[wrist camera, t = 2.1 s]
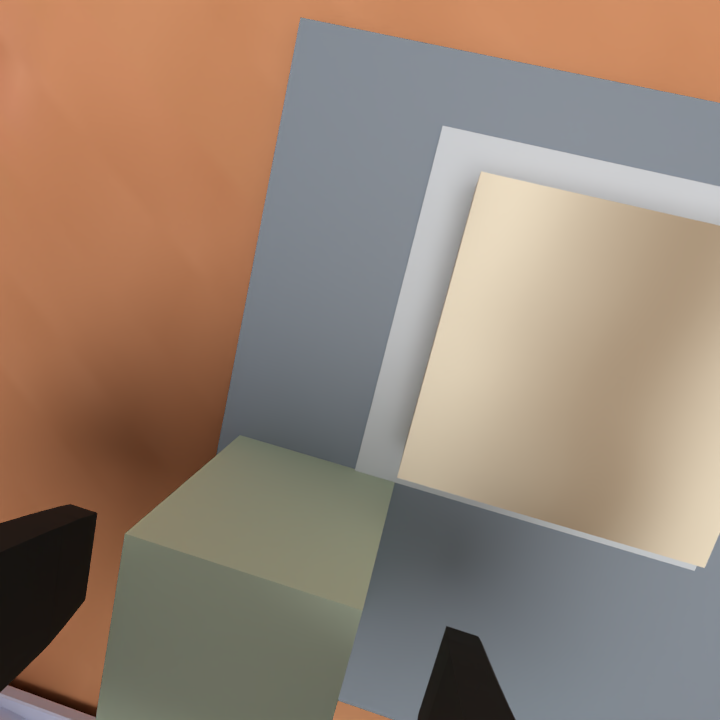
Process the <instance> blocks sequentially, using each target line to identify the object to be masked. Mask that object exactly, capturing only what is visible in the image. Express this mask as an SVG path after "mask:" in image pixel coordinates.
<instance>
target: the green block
mask: <svg viewBox="0 0 720 720" xmlns="http://www.w3.org/2000/svg"><path fill="white" fill-rule="evenodd" d="M394 484H395V482H392V481H388V480H385V479H381V478H378V477H375V476H371V475H368V474H365V473H361V472H358V471H355V469H353V468H350V467H346V466H343V465H340V464H336V463H333V462H330V461H326V460H323V459H319V458H316V457H313V456H309V455H306V454H302V453H299V452H296V451H292V450H289V449H285V448H282V447H279V446H275V445H272V444H269V443H265V442H262V441H258V440H255V439H252V438H248V437H245V436H241V435H239V436H238V437H237V438H236V439H235V440H234V441H232V442H231V443H230V444H229V445H228V446H227V447H225V448H224V449H223V450H222V451H221V452H220V453H218V454H217V455H216V456H215V457H214V458H213V459H211V460H210V461H209V462H208V463H207V464H206V465H204V466H203V467H202V468H201V469H200V470H199V471H197V472H196V473H195V474H194V475H193V476H192V477H190V478H189V479H188V480H187V481H186V482H185V483H183V484H182V485H181V486H180V487H179V488H178V489H176V490H175V491H174V492H173V493H172V494H171V495H169V496H168V497H167V498H166V499H165V500H164V501H162V502H161V503H160V504H159V505H158V506H157V507H155V508H154V509H153V510H152V511H151V512H150V513H148V514H147V515H146V516H145V517H144V518H143V519H141V520H140V521H139V522H138V523H137V524H136V525H134V526H133V527H132V528H131V529H130V530H128V531H127V532H126V533H125V536H124V543H123V549H122V555H121V562H120V568H119V574H118V581H117V587H116V593H115V599H114V606H113V612H112V618H111V625H110V631H109V637H108V644H107V650H106V656H105V663H104V669H103V675H102V682H101V688H100V694H99V701H98V707H97V713H96V720H333V716H334V712H335V709H336V705H337V701H338V698H339V694H340V691H341V687H342V683H343V680H344V676H345V673H346V669H347V665H348V662H349V658H350V654H351V651H352V647H353V644H354V640H355V636H356V633H357V629H358V625H359V622H360V618H361V615H362V611H363V607H364V603H365V599H366V595H367V591H368V587H369V583H370V579H371V575H372V571H373V567H374V563H375V559H376V555H377V551H378V547H379V543H380V539H381V535H382V531H383V527H384V523H385V519H386V515H387V511H388V507H389V503H390V499H391V495H392V492H393V488H394Z"/></svg>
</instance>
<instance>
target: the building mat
mask: <svg viewBox="0 0 720 720" xmlns="http://www.w3.org/2000/svg"><path fill="white" fill-rule="evenodd" d="M481 171H482V172H486V173H490V174H495V175H499V176H504V177H508V178H512V179H517V180H521V181H526V182H530V183H534V184H539V185H543V186H548V187H552V188H556V189H561V190H565V191H570V192H574V193H578V194H583V195H587V196H592V197H596V198H600V199H605V200H609V201H614V202H618V203H622V204H627V205H631V206H636V207H640V208H644V209H649V210H653V211H658V212H662V213H666V214H671V215H675V216H680V217H684V218H688V219H693V220H697V221H702V222H706V223H710V224H715V225H719V226H720V103H717V102H712V101H707V100H703V99H698V98H693V97H688V96H683V95H678V94H673V93H668V92H663V91H658V90H653V89H649V88H644V87H639V86H634V85H629V84H624V83H619V82H614V81H609V80H604V79H600V78H595V77H590V76H585V75H580V74H575V73H570V72H565V71H560V70H555V69H550V68H546V67H541V66H536V65H531V64H526V63H521V62H516V61H511V60H506V59H501V58H496V57H492V56H487V55H482V54H477V53H472V52H467V51H462V50H457V49H452V48H447V47H443V46H438V45H433V44H428V43H423V42H418V41H413V40H408V39H403V38H398V37H393V36H389V35H384V34H379V33H374V32H369V31H364V30H359V29H354V28H349V27H344V26H340V25H335V24H330V23H325V22H320V21H315V20H310V19H305V18H300V23H299V28H298V33H297V39H296V44H295V49H294V54H293V59H292V65H291V70H290V75H289V80H288V85H287V91H286V96H285V101H284V106H283V111H282V117H281V122H280V127H279V132H278V137H277V143H276V148H275V153H274V158H273V163H272V169H271V174H270V179H269V184H268V189H267V195H266V200H265V205H264V210H263V215H262V220H261V226H260V231H259V236H258V241H257V246H256V252H255V257H254V262H253V267H252V272H251V278H250V283H249V288H248V293H247V298H246V304H245V309H244V314H243V319H242V324H241V330H240V335H239V340H238V345H237V350H236V356H235V361H234V366H233V371H232V376H231V382H230V387H229V392H228V397H227V402H226V408H225V413H224V418H223V423H222V428H221V433H220V439H219V444H218V449H217V454H218V453H220V452H221V451H222V450H223V449H224V448H225V447H227V446H228V445H229V444H230V443H231V442H232V441H234V440H235V439H236V438H237V437H238V436H239V435H241V436H245V437H248V438H252V439H255V440H258V441H262V442H265V443H269V444H272V445H275V446H279V447H282V448H285V449H289V450H292V451H296V452H299V453H302V454H306V455H309V456H313V457H316V458H319V459H323V460H326V461H330V462H333V463H336V464H340V465H343V466H346V467H350V468H353V469H355V471H358V472H361V473H365V474H368V475H371V476H375V477H378V478H381V479H385V480H388V481H392V482H395V484H394V488H393V492H392V495H391V499H390V503H389V507H388V511H387V515H386V519H385V523H384V527H383V531H382V535H381V539H380V543H379V547H378V551H377V555H376V559H375V563H374V567H373V571H372V575H371V579H370V583H369V587H368V591H367V595H366V599H365V603H364V607H363V611H362V615H361V618H360V622H359V625H358V629H357V633H356V636H355V640H354V644H353V647H352V651H351V654H350V658H349V662H348V665H347V669H346V673H345V676H344V680H343V683H342V687H341V691H340V694H339V698H338V701H341V702H344V703H347V704H350V705H352V706H355V707H358V708H361V709H364V710H367V711H370V712H373V713H376V714H379V715H382V716H384V717H387V718H390V719H393V720H417V719H418V713H419V710H420V707H421V704H422V701H423V698H424V694H425V691H426V688H427V685H428V682H429V679H430V676H431V673H432V669H433V666H434V663H435V660H436V657H437V654H438V651H439V647H440V644H441V641H442V638H443V635H444V632H445V629H446V626H448V627H451V628H454V629H457V630H460V631H464V632H467V633H470V634H473V635H476V636H479V638H480V640H481V642H482V644H483V646H484V649H485V651H486V654H487V656H488V658H489V661H490V663H491V666H492V668H493V670H494V673H495V675H496V677H497V680H498V682H499V684H500V687H501V689H502V691H503V693H504V696H505V698H506V700H507V702H508V705H509V707H510V709H511V711H512V713H513V715H514V717H515V719H516V720H720V534H719V536H718V538H717V541H716V543H715V545H714V548H713V550H712V552H711V555H710V557H709V559H708V562H707V564H706V566H705V568H703V567H699V566H696V565H692V564H689V563H686V562H682V561H679V560H675V559H672V558H669V557H665V556H662V555H658V554H655V553H652V552H648V551H645V550H641V549H638V548H635V547H631V546H628V545H624V544H621V543H618V542H614V541H611V540H607V539H604V538H601V537H597V536H594V535H590V534H587V533H584V532H580V531H577V530H573V529H570V528H567V527H563V526H560V525H556V524H553V523H550V522H546V521H543V520H539V519H536V518H533V517H529V516H526V515H522V514H519V513H516V512H512V511H509V510H505V509H502V508H499V507H495V506H492V505H488V504H485V503H482V502H478V501H475V500H471V499H468V498H465V497H461V496H458V495H454V494H451V493H448V492H444V491H441V490H437V489H434V488H431V487H427V486H424V485H420V484H417V483H414V482H410V481H407V480H403V479H400V478H397V476H398V471H399V467H400V463H401V459H402V455H403V451H404V447H405V443H406V440H407V436H408V432H409V429H410V425H411V421H412V418H413V414H414V410H415V407H416V403H417V399H418V396H419V392H420V389H421V385H422V381H423V378H424V374H425V370H426V367H427V363H428V359H429V356H430V352H431V348H432V345H433V341H434V337H435V334H436V330H437V327H438V323H439V319H440V316H441V312H442V308H443V305H444V301H445V297H446V294H447V290H448V286H449V283H450V279H451V275H452V272H453V268H454V265H455V261H456V257H457V254H458V250H459V246H460V243H461V239H462V235H463V232H464V228H465V224H466V221H467V217H468V213H469V210H470V206H471V203H472V199H473V195H474V192H475V188H476V184H477V182H478V179H479V176H480V173H481ZM217 454H216V455H217Z"/></svg>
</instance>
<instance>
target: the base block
mask: <svg viewBox="0 0 720 720" xmlns="http://www.w3.org/2000/svg"><path fill="white" fill-rule="evenodd" d="M397 478H400V479H403V480H407V481H410V482H414V483H417V484H420V485H424V486H427V487H431V488H434V489H437V490H441V491H444V492H448V493H451V494H454V495H458V496H461V497H465V498H468V499H471V500H475V501H478V502H482V503H485V504H488V505H492V506H495V507H499V508H502V509H505V510H509V511H512V512H516V513H519V514H522V515H526V516H529V517H533V518H536V519H539V520H543V521H546V522H550V523H553V524H556V525H560V526H563V527H567V528H570V529H573V530H577V531H580V532H584V533H587V534H590V535H594V536H597V537H601V538H604V539H607V540H611V541H614V542H618V543H621V544H624V545H628V546H631V547H635V548H638V549H641V550H645V551H648V552H652V553H655V554H658V555H662V556H665V557H669V558H672V559H675V560H679V561H682V562H686V563H689V564H692V565H696V566H699V567H703V568H705V566H706V564H707V562H708V559H709V557H710V555H711V552H712V550H713V548H714V545H715V543H716V541H717V538H718V536H719V534H720V226H719V225H715V224H710V223H706V222H702V221H697V220H693V219H688V218H684V217H680V216H675V215H671V214H666V213H662V212H658V211H653V210H649V209H644V208H640V207H636V206H631V205H627V204H622V203H618V202H614V201H609V200H605V199H600V198H596V197H592V196H587V195H583V194H578V193H574V192H570V191H565V190H561V189H556V188H552V187H548V186H543V185H539V184H534V183H530V182H526V181H521V180H517V179H512V178H508V177H504V176H499V175H495V174H490V173H486V172H482V171H481V173H480V176H479V179H478V182H477V184H476V188H475V192H474V195H473V199H472V203H471V206H470V210H469V213H468V217H467V221H466V224H465V228H464V232H463V235H462V239H461V243H460V246H459V250H458V254H457V257H456V261H455V265H454V268H453V272H452V275H451V279H450V283H449V286H448V290H447V294H446V297H445V301H444V305H443V308H442V312H441V316H440V319H439V323H438V327H437V330H436V334H435V337H434V341H433V345H432V348H431V352H430V356H429V359H428V363H427V367H426V370H425V374H424V378H423V381H422V385H421V389H420V392H419V396H418V399H417V403H416V407H415V410H414V414H413V418H412V421H411V425H410V429H409V432H408V436H407V440H406V443H405V447H404V451H403V455H402V459H401V463H400V467H399V471H398V476H397Z"/></svg>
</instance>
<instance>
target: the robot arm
mask: <svg viewBox="0 0 720 720" xmlns="http://www.w3.org/2000/svg"><path fill="white" fill-rule="evenodd" d="M96 519H97V513H96V512H93V511H90V510H86V509H83V508H80V507H77V506H74V505H71V504H69V505H65V506H60V507H56V508H52V509H48V510H44V511H41V512H37V513H34V514H30V515H27V516H23V517H20V518H17V519H13V520H10V521H6V522H3V523H0V720H96V717H94V716H91V715H88V714H85V713H83V712H80V711H77V710H75V709H72V708H69V707H66V706H64V705H61V704H58V703H55V702H53V701H50V700H47V699H44V698H42V697H39V696H36V695H34V694H31V693H28V692H25V691H23V690H20V689H17V688H14V687H12V686H9V684H10V683H11V682H12V681H13V680H14V679H15V678H16V677H17V676H18V675H19V674H20V673H21V672H22V671H23V670H24V669H25V668H26V667H27V666H28V665H29V664H30V663H31V662H32V661H33V660H34V659H35V658H36V657H37V656H38V655H39V654H40V653H41V652H42V651H43V650H44V649H45V648H46V647H47V646H48V645H49V644H50V643H51V641H52V640H53V639H54V638H55V637H56V635H57V634H58V633H59V632H60V631H61V629H62V628H63V627H64V626H65V625H66V623H67V622H68V621H69V620H70V618H71V617H72V616H73V615H74V613H75V612H76V611H77V609H78V608H79V607H80V606H81V604H82V603H83V602H84V601H85V597H86V590H87V583H88V576H89V569H90V562H91V555H92V548H93V540H94V533H95V526H96ZM417 720H516V719H515V717H514V715H513V713H512V711H511V709H510V707H509V705H508V702H507V700H506V698H505V696H504V693H503V691H502V689H501V687H500V684H499V682H498V680H497V677H496V675H495V673H494V670H493V668H492V666H491V663H490V661H489V658H488V656H487V654H486V651H485V649H484V646H483V644H482V642H481V640H480V638H479V636H476V635H473V634H470V633H467V632H464V631H460V630H457V629H454V628H451V627H448V626H446V629H445V632H444V635H443V638H442V641H441V644H440V647H439V651H438V654H437V657H436V660H435V663H434V666H433V669H432V673H431V676H430V679H429V682H428V685H427V688H426V691H425V694H424V698H423V701H422V704H421V707H420V710H419V713H418V719H417Z"/></svg>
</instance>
